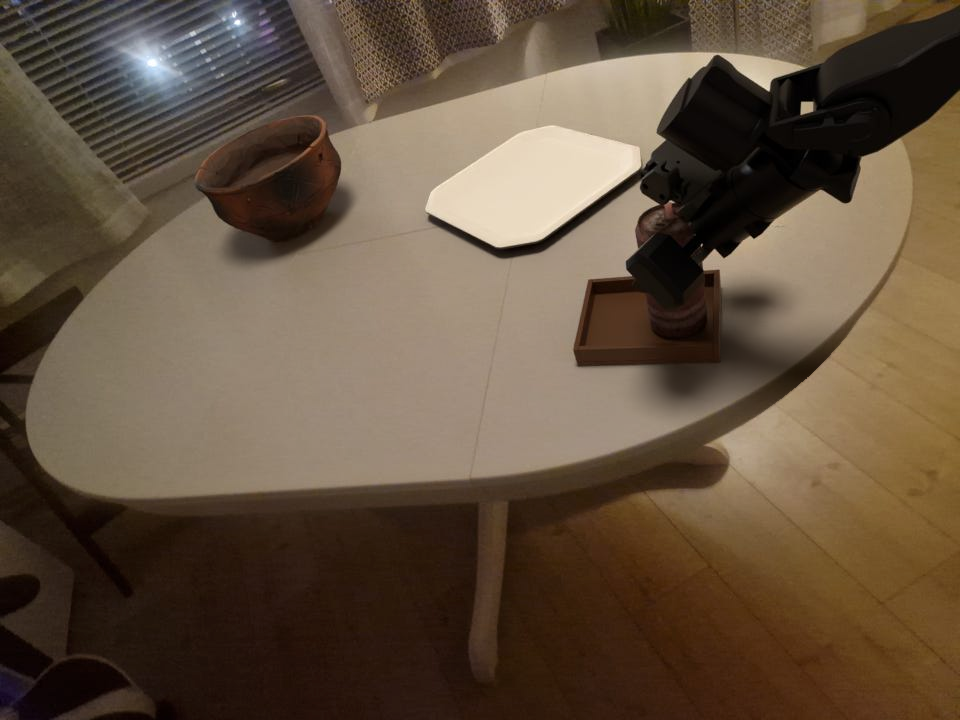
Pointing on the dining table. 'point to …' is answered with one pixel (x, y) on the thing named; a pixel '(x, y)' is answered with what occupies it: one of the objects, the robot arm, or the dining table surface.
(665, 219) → the can
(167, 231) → the dining table surface
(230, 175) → the bowl
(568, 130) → the plate
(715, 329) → the tray
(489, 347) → the dining table surface
